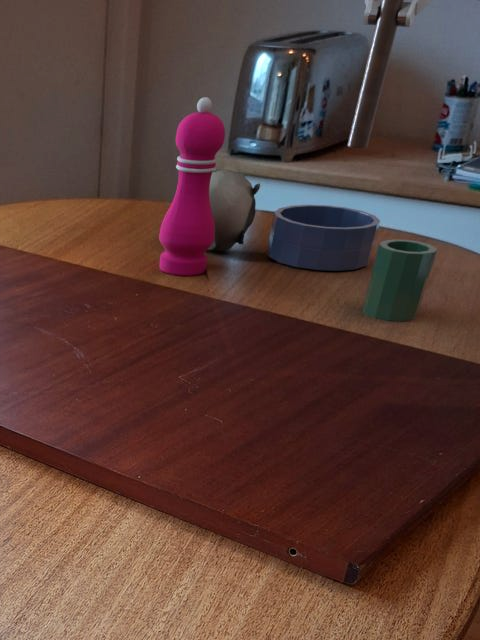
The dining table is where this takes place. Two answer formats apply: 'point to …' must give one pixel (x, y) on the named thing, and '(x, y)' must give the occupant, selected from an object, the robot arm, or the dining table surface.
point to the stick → (374, 73)
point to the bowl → (322, 237)
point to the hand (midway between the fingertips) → (386, 21)
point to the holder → (398, 280)
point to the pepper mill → (192, 194)
